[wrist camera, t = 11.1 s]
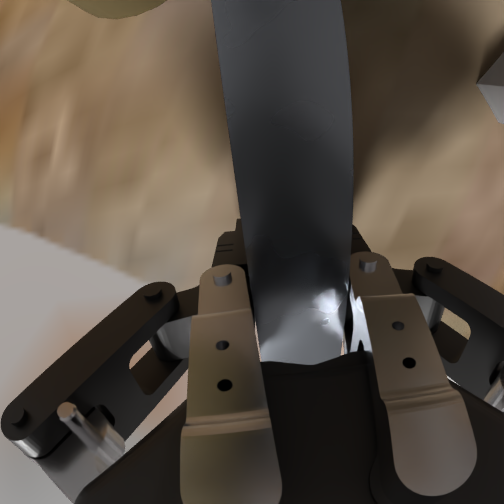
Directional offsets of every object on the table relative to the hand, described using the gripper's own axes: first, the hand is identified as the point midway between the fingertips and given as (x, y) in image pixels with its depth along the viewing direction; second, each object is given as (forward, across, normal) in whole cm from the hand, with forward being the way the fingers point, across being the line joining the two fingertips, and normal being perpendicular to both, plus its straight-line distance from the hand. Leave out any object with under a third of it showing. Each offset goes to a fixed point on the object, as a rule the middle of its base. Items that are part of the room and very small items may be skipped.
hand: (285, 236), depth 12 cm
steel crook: (+1, +3, -7) cm, 8 cm away
